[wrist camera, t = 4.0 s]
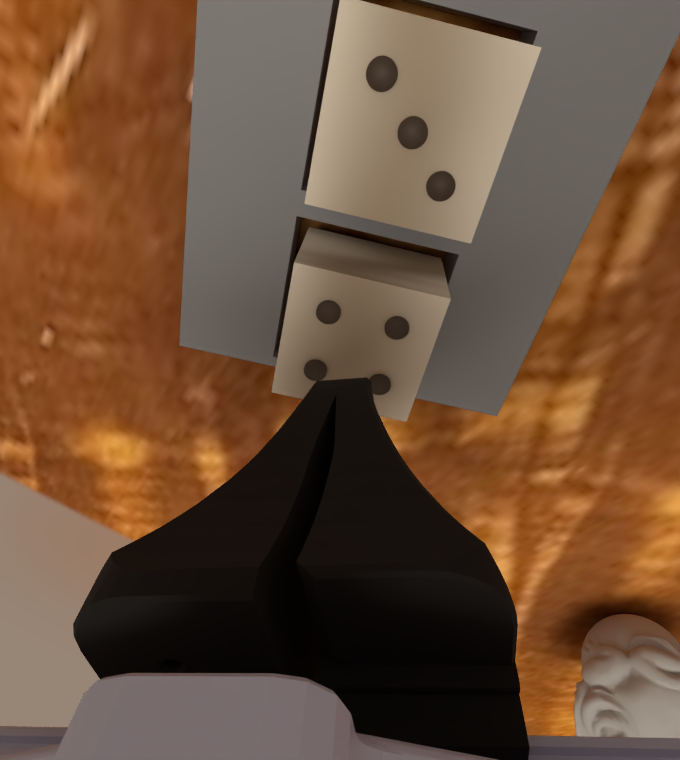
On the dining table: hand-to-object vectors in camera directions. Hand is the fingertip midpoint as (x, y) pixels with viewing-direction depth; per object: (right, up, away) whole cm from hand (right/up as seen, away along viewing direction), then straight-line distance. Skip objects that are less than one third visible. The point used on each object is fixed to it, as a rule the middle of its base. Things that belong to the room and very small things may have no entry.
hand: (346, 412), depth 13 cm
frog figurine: (+15, -12, +16) cm, 25 cm away
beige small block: (+2, +8, +2) cm, 9 cm away
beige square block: (+1, +3, +5) cm, 6 cm away
